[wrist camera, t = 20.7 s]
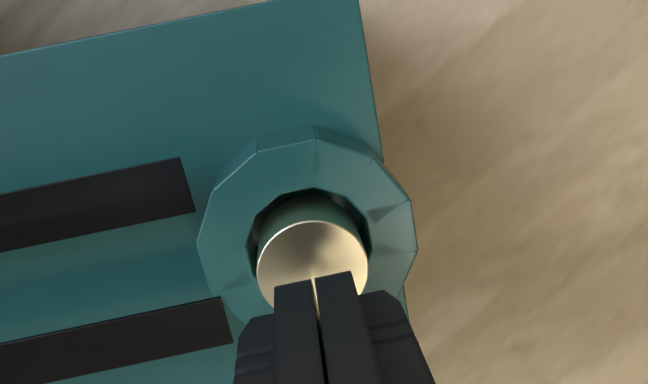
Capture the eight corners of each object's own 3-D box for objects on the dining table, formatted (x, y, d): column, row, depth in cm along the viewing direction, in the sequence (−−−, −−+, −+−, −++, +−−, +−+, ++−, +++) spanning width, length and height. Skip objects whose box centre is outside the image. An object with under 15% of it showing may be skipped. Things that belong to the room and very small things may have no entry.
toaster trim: (341, 290, 21) (369, 404, 15) (28, 357, 21) (-76, 501, 15) (300, 90, 19) (314, 129, 12) (-58, 164, 18) (-230, 241, 12)
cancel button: (365, 275, 14) (376, 309, 13) (270, 295, 14) (270, 332, 13) (348, 185, 13) (359, 209, 12) (247, 206, 13) (244, 233, 12)
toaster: (365, 218, 27) (437, 383, 15) (54, 283, 27) (-129, 507, 15) (325, -5, 24) (379, -24, 12) (-33, 67, 23) (-371, 127, 11)
